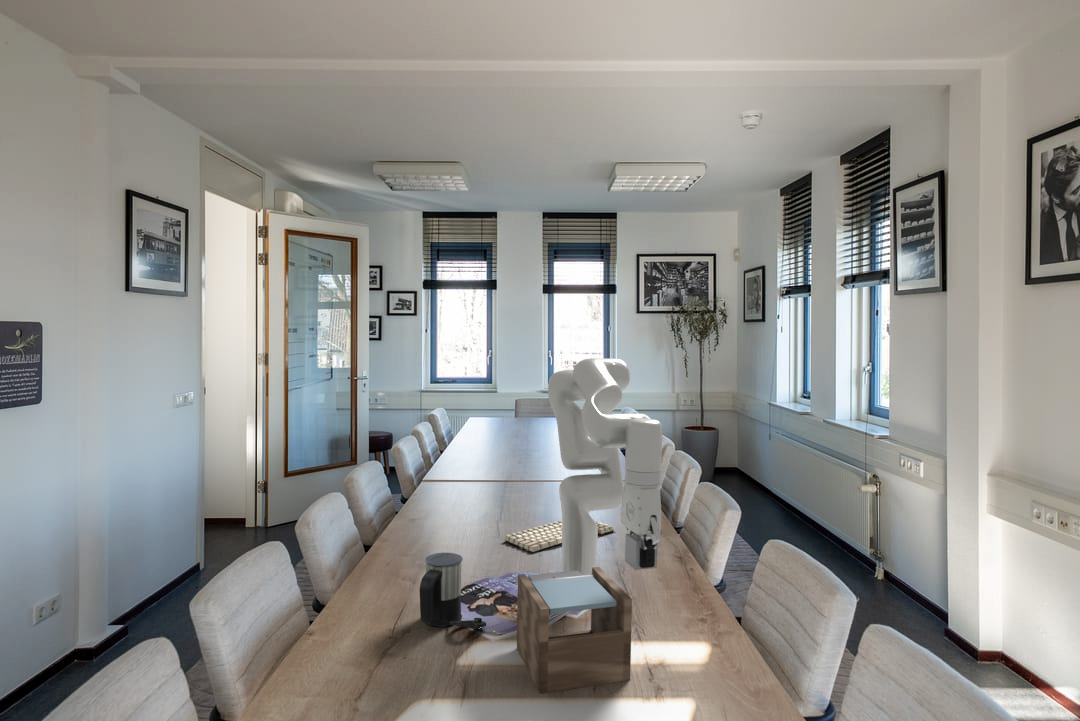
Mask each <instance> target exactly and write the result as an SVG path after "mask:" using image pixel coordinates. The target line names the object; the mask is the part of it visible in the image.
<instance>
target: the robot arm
mask: <svg viewBox="0 0 1080 721" xmlns="http://www.w3.org/2000/svg"><path fill="white" fill-rule="evenodd" d="M630 380H631V373H630V369H629V366H628V365H627V364H626V362H625V361H623V360H622V359H619V358H605V357H603V358H600V357H599V358H597V357H596V358H595V357H593V358H585V359H582V360H580V361H578V362H577V363H576V364H575V366H574V367H573V369H565V370H559V371H555V372H554V373H552V374H551V376H549V379H548V384H547V393H548V394H547V395H548V400H549V404H550V407H551V409H552V412H553V414H554V416H555V420H556V425H557V432H558V433H557V434H558V443H559V452H560V458H561V464H562V465H563V467H564V468H565V469H566V470H569V471H588V470H589V471H590V470H592V471H593V470H594V471H595V470H598V471H599V472H600V473H595V474H593V473H592V474H591V473H590V474H574V475H570V476H567V477H565V478H564V479H562V480H561V482H560V484H559V489H558V494H559V495H558V496H559V502H560V508H561V520H562V547H561V571H560V572H566V571H577V570H578V571H579V572H580V573H581V574H582V575H583V576H584V575H592V567H598V539H599V538H598V529H597V525H596V523H595V521H596V520H594V519H593V517H592V516H591V515H590V513H591V512H594V511H606V510H614V509H618V508H620V507H621V509H620V510H621V511H620V512H621V513H620V523H621V524H622V525H623V526H624V527H625V528H626V531H627V533H626V534H632V533H635V534H637V535H638V536H641V543H642V548H641V549H640V567H641V568H649V567H654V565H655V549H656V545H657V543H660V541H661V539H662V537H661V534H660V532H661V528H662V502H661V499H662V498H661V490H660V489H661V488H660V487H661V486H662V454H663V453H662V452H663V451H662V450H663V426H662V423H661V422H660V421H659V420H656V419H654V418H650V417H649V416H648V415H647V414H644V413H638V412H637V413H611V412H613V411H614V410H615V409H617V408H618V407H619V405H620V404H621V402H622V398H623V392H624V391H625V390H626V389H627V388H628V386H629V384H630ZM575 401H576V402H577V401H580V402H581V401H584V404H583V406H582V407H583V408H580V406H579V405H577V404H576V403H575ZM620 448H625V463H624V464H625V467H624V480H623V472H622V464H621V459H620V451H619V449H620ZM648 531H649V532H648ZM649 536H650V537H651V539H648V540H647V542H646V537H649Z"/></svg>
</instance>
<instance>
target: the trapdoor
mask: <svg viewBox="0 0 1080 721" xmlns="http://www.w3.org/2000/svg"><path fill="white" fill-rule="evenodd" d="M527 578H528V579H529V580H530V582H531V583H532V585H533V586H534V588H535V589H536V591H537V592H538V593H539V595H540V596H541V598H542V599H543V601H544V602H545V604H546V605H547V606H548V608H549V615H552V614H559V613H560V614H561V613H567V612H578V611H587V610H591V609H596V608H605V607H614V606H616V600H615V599H614V598H613V597H612V596H611V595H610V594H609V593H608V592H607V591H606V590H605V589H604V588H603V587H602V586H601V585H600V584H599V583H598V582H597V581H596V580H595V578H594V575H584V576H583V575H582V574H581V573H580V572H579V571H578V570H577V571H566V572H561V571H559V572H557V571H556V572H548V573H537V574H529V575H528V576H527Z"/></svg>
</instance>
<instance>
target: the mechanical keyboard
mask: <svg viewBox="0 0 1080 721" xmlns="http://www.w3.org/2000/svg"><path fill="white" fill-rule="evenodd" d="M594 521H595V523H596V525H597V529H598V538H597V539H599V538H604V537H606V536H609V535H613V534H616V531H615V529H614V526H613V525H609V524H608V523H603V522H598V521H596V520H594ZM502 543H504V544H506V545H509V546H511V547H513V548H516V549H517V550H522V551H524V552H527V553H531V554H536V553H541V552H549V551H552V550H556V549H560V548H561V549H562V519H561V520H557V521H554V522H549V523H545V524H543V525H538V526H535V527H532V528H528V529H524V530H522V531H516V532H513V533H510V534H505V537H504V541H503V542H502ZM539 556H542V554H541V555H539Z"/></svg>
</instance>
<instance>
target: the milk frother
mask: <svg viewBox="0 0 1080 721" xmlns="http://www.w3.org/2000/svg"><path fill="white" fill-rule="evenodd" d="M424 562H425V573H424V575H423V577H422V578H421V581H420V585H419V610H420V614H419V615H420V616H419V617H420V621H421V622H423V623H426V624H427V625H429V626H433V627H440V628H443V627H450V626H455V627H459V628H460V627H462V628H472V629H474V630H475V629H479V628H480V627H482V628H485V627H487V622H486V621H483V619H482V618H481V617H474V618H473V619H469V620H468V619H466V620H462V619H463V615H462V601H461V600H462V562H463V556H462V555H460V554H458V553H455V552H454V553H453V552H436V553H433V554H429V555H427V556H426V557H425V558H424Z"/></svg>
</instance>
